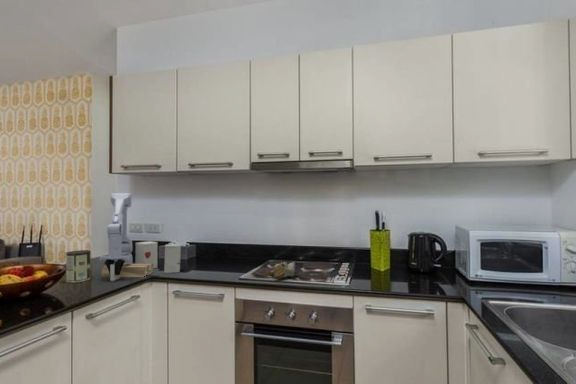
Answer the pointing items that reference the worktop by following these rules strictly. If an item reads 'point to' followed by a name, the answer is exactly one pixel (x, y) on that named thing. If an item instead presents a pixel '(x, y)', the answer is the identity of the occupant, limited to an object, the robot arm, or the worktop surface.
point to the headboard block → (131, 270)
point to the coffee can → (78, 266)
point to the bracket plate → (113, 272)
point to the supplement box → (146, 253)
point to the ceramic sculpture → (282, 270)
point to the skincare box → (172, 258)
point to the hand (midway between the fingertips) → (114, 274)
